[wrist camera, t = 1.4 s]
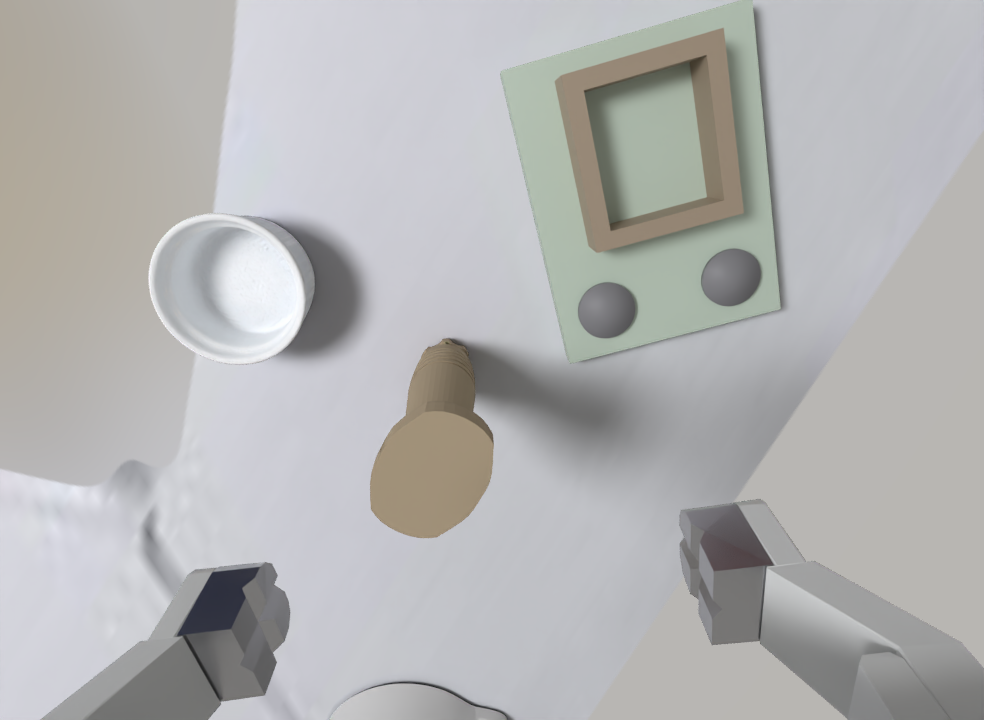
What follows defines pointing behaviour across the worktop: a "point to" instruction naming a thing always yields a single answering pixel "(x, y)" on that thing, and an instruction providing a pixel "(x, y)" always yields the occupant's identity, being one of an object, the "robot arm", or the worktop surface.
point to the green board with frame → (649, 180)
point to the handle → (434, 450)
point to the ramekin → (231, 286)
